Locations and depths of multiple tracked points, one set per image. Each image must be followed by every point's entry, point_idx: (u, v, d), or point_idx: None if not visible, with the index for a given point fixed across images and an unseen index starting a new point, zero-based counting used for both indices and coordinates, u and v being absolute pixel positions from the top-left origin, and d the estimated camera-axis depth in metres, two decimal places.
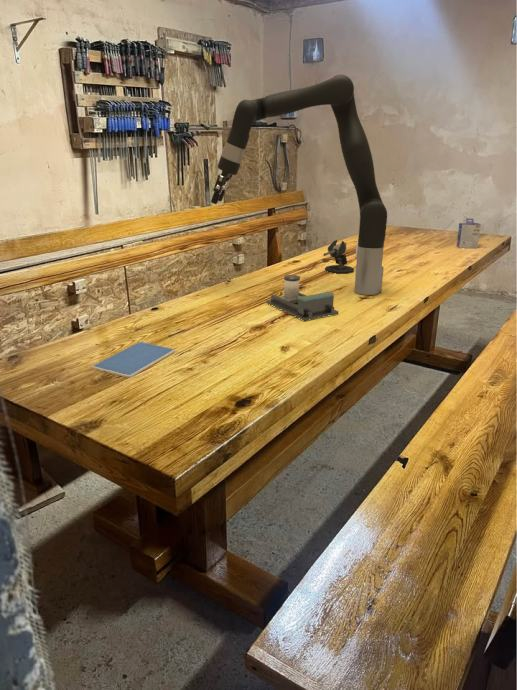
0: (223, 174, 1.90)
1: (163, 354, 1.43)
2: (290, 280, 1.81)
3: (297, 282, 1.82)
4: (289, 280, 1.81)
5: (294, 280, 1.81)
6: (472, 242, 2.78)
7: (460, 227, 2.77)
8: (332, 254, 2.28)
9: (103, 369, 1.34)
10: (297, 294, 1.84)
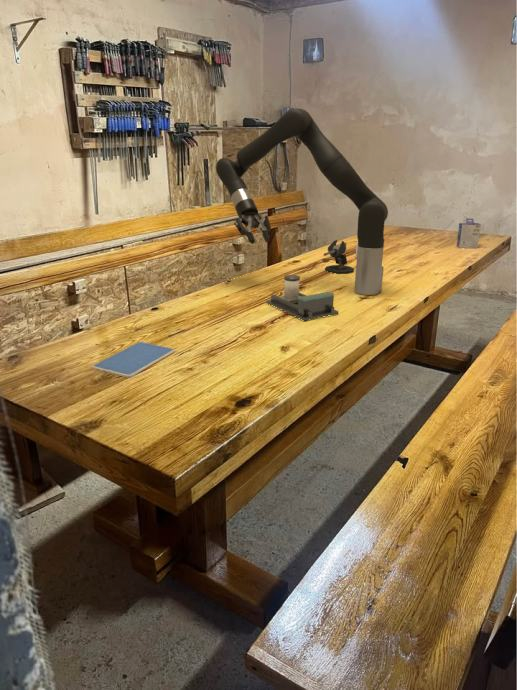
0: (240, 218, 1.98)
1: (163, 354, 1.43)
2: (290, 280, 1.81)
3: (297, 282, 1.82)
4: (289, 280, 1.81)
5: (294, 280, 1.81)
6: (472, 242, 2.78)
7: (460, 227, 2.77)
8: (332, 254, 2.28)
9: (103, 369, 1.34)
10: (297, 294, 1.84)
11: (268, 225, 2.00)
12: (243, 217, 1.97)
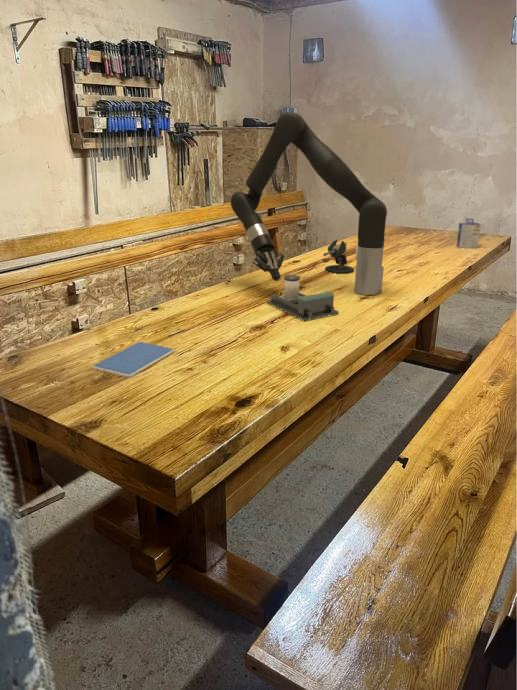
0: (256, 255, 1.93)
1: (163, 354, 1.43)
2: (290, 280, 1.81)
3: (297, 282, 1.82)
4: (289, 280, 1.81)
5: (294, 280, 1.81)
6: (472, 242, 2.78)
7: (460, 227, 2.77)
8: (332, 254, 2.28)
9: (103, 369, 1.34)
10: (297, 294, 1.84)
11: (280, 263, 1.94)
12: (259, 254, 1.92)
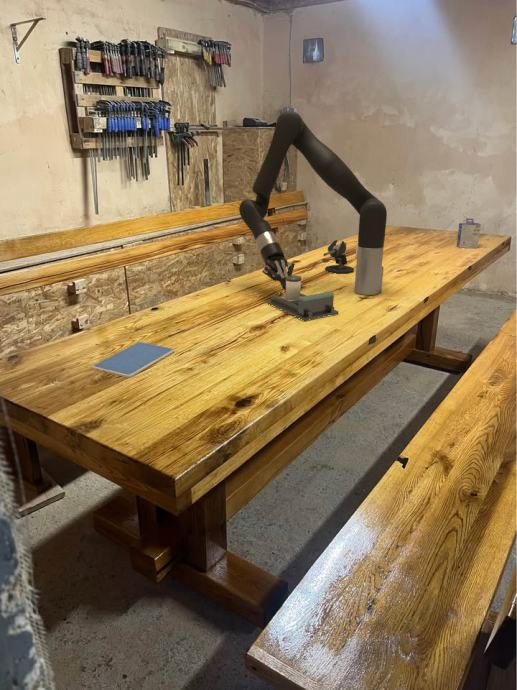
0: (266, 264, 1.88)
1: (163, 354, 1.43)
2: (291, 281, 1.81)
3: (299, 283, 1.82)
4: (290, 281, 1.81)
5: (296, 281, 1.81)
6: (472, 242, 2.78)
7: (460, 227, 2.77)
8: (332, 254, 2.28)
9: (103, 369, 1.34)
10: (298, 295, 1.84)
11: (290, 272, 1.89)
12: (269, 262, 1.88)
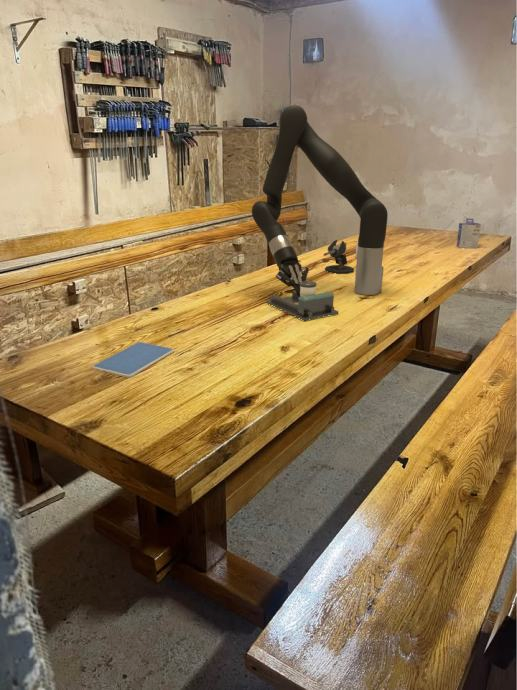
0: (279, 268, 1.82)
1: (163, 354, 1.43)
2: (306, 286, 1.74)
3: (313, 288, 1.75)
4: (305, 286, 1.74)
5: (310, 286, 1.74)
6: (472, 242, 2.78)
7: (460, 227, 2.77)
8: (332, 254, 2.28)
9: (103, 369, 1.34)
10: None
11: (304, 277, 1.83)
12: (283, 267, 1.81)
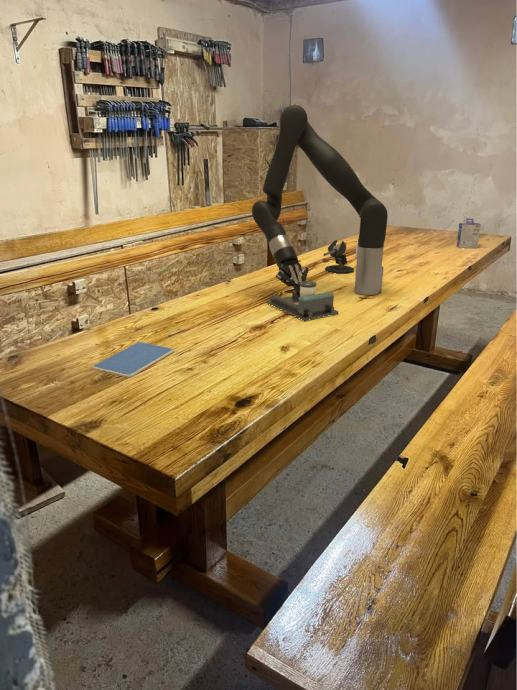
0: (279, 268, 1.82)
1: (163, 354, 1.43)
2: (306, 286, 1.74)
3: (313, 288, 1.75)
4: (305, 286, 1.74)
5: (310, 286, 1.74)
6: (472, 242, 2.78)
7: (460, 227, 2.77)
8: (332, 254, 2.28)
9: (103, 369, 1.34)
10: None
11: (304, 277, 1.83)
12: (283, 267, 1.81)
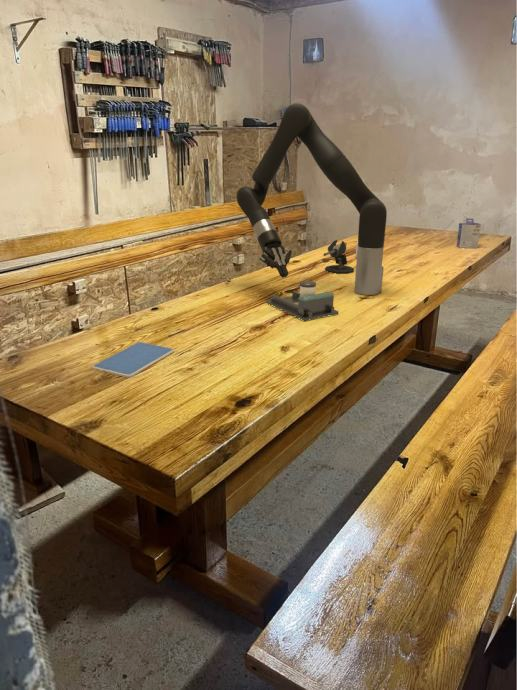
0: (263, 251, 1.88)
1: (163, 354, 1.43)
2: (306, 286, 1.74)
3: (313, 288, 1.75)
4: (305, 286, 1.74)
5: (310, 286, 1.74)
6: (472, 242, 2.78)
7: (460, 227, 2.77)
8: (332, 254, 2.28)
9: (103, 369, 1.34)
10: None
11: (287, 259, 1.89)
12: (266, 250, 1.87)
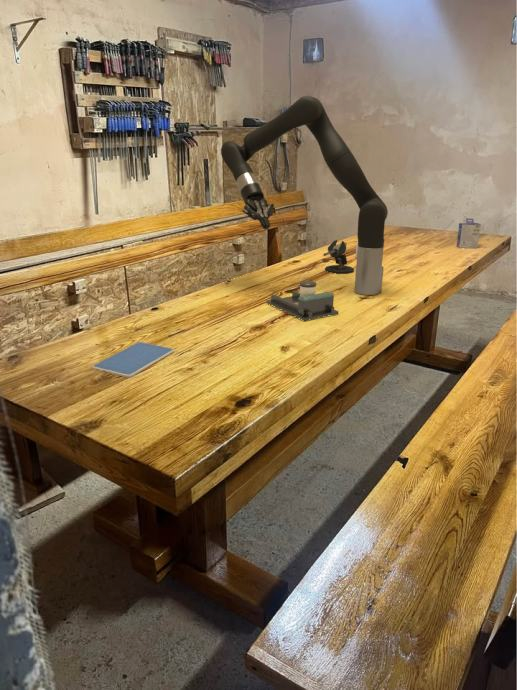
0: (245, 203, 1.92)
1: (163, 354, 1.43)
2: (306, 286, 1.74)
3: (313, 288, 1.75)
4: (305, 286, 1.74)
5: (310, 286, 1.74)
6: (472, 242, 2.78)
7: (460, 227, 2.77)
8: (332, 254, 2.28)
9: (103, 369, 1.34)
10: None
11: (269, 212, 1.93)
12: (249, 202, 1.91)
